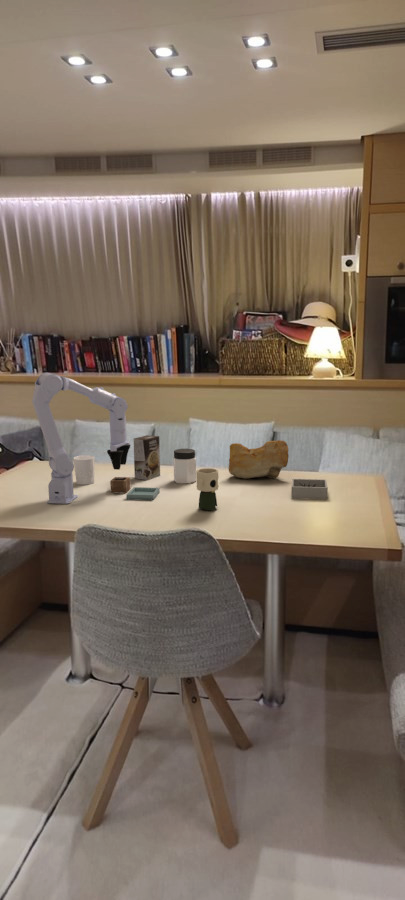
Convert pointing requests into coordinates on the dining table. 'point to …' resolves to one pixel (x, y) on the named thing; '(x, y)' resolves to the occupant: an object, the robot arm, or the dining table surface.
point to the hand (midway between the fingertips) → (119, 466)
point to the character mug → (207, 487)
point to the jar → (184, 466)
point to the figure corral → (309, 488)
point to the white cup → (84, 469)
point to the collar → (120, 485)
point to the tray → (143, 493)
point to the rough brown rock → (258, 460)
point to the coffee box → (146, 457)
